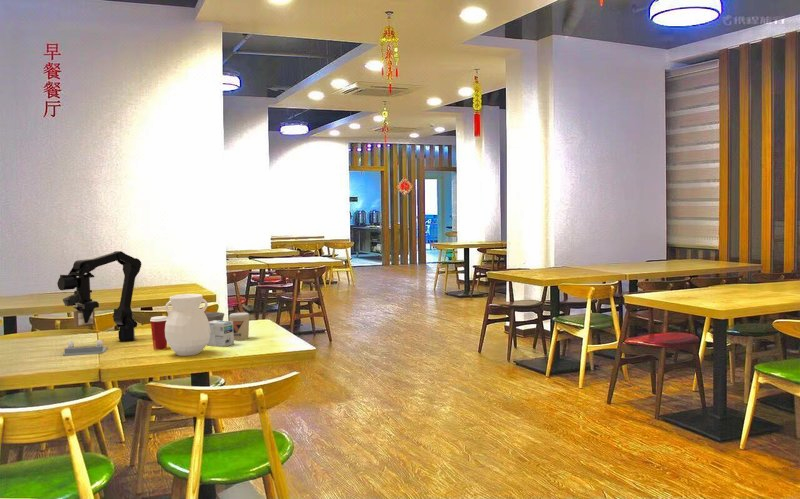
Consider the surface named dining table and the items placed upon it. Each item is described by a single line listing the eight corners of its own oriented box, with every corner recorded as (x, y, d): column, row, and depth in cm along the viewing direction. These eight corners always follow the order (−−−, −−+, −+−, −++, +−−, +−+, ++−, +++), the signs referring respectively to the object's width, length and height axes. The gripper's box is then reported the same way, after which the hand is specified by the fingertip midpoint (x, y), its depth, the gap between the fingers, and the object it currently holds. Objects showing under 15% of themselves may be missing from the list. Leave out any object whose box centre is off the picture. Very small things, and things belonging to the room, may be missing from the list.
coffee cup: (225, 340, 320) (224, 314, 319) (237, 336, 328) (236, 312, 328) (242, 341, 316) (241, 315, 316) (254, 337, 325) (253, 312, 324)
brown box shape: (92, 324, 311) (91, 309, 310) (95, 325, 309) (94, 309, 308) (74, 326, 305) (73, 311, 305) (76, 327, 303) (76, 311, 303)
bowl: (234, 332, 342) (233, 312, 341) (202, 339, 324) (201, 318, 324) (205, 329, 353) (204, 310, 352) (173, 335, 335) (172, 315, 335)
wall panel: (107, 348, 305) (107, 337, 305) (103, 353, 294) (102, 342, 294) (68, 351, 301) (68, 340, 301) (63, 355, 290) (62, 344, 290)
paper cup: (172, 347, 305) (171, 316, 305) (161, 350, 298) (160, 318, 297) (158, 346, 308) (157, 315, 307) (146, 349, 301) (145, 318, 300)
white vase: (167, 360, 278) (165, 299, 276) (163, 352, 295) (161, 294, 293) (214, 355, 285) (212, 296, 284) (208, 347, 302) (206, 291, 301)
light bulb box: (234, 344, 309) (233, 320, 309) (224, 347, 303) (224, 323, 303) (215, 342, 314) (215, 319, 313) (206, 345, 308) (205, 321, 307)
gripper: (56, 288, 307) (58, 322, 307) (72, 291, 294) (74, 327, 295) (82, 286, 315) (83, 319, 315) (98, 288, 302) (100, 323, 303)
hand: (84, 322), depth 307 cm, fingers closed on brown box shape, 3 cm apart
